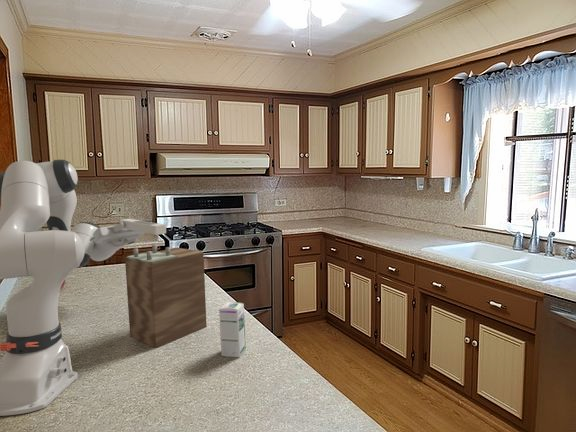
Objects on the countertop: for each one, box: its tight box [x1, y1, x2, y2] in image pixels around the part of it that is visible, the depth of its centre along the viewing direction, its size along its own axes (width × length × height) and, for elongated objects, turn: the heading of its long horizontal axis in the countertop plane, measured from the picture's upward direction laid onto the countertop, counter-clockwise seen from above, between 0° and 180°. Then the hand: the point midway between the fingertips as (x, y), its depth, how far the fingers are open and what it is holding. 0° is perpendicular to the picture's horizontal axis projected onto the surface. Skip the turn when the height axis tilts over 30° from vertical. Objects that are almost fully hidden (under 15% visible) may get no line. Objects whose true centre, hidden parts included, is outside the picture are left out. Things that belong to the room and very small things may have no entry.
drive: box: [119, 218, 167, 236], centre depth 150 cm, size 22×4×3 cm, turn 53°
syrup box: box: [218, 301, 247, 358], centre depth 122 cm, size 6×6×14 cm
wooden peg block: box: [124, 244, 208, 349], centre depth 137 cm, size 14×20×29 cm
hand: (130, 222), depth 154 cm, fingers closed on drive, 4 cm apart
